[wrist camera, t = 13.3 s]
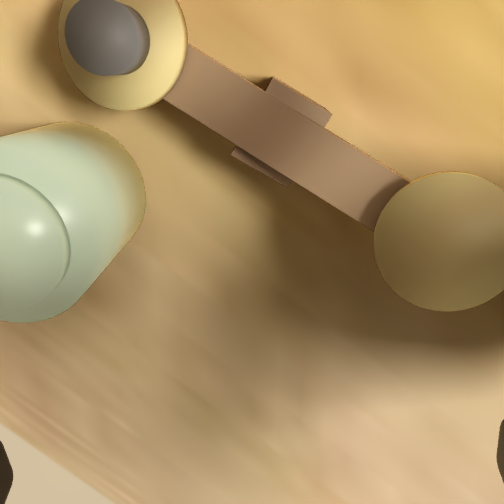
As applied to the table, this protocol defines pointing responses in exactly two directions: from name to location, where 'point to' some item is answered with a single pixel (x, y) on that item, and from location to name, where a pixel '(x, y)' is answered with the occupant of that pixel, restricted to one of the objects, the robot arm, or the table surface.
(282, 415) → the table surface
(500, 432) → the robot arm
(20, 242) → the sage cup
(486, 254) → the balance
